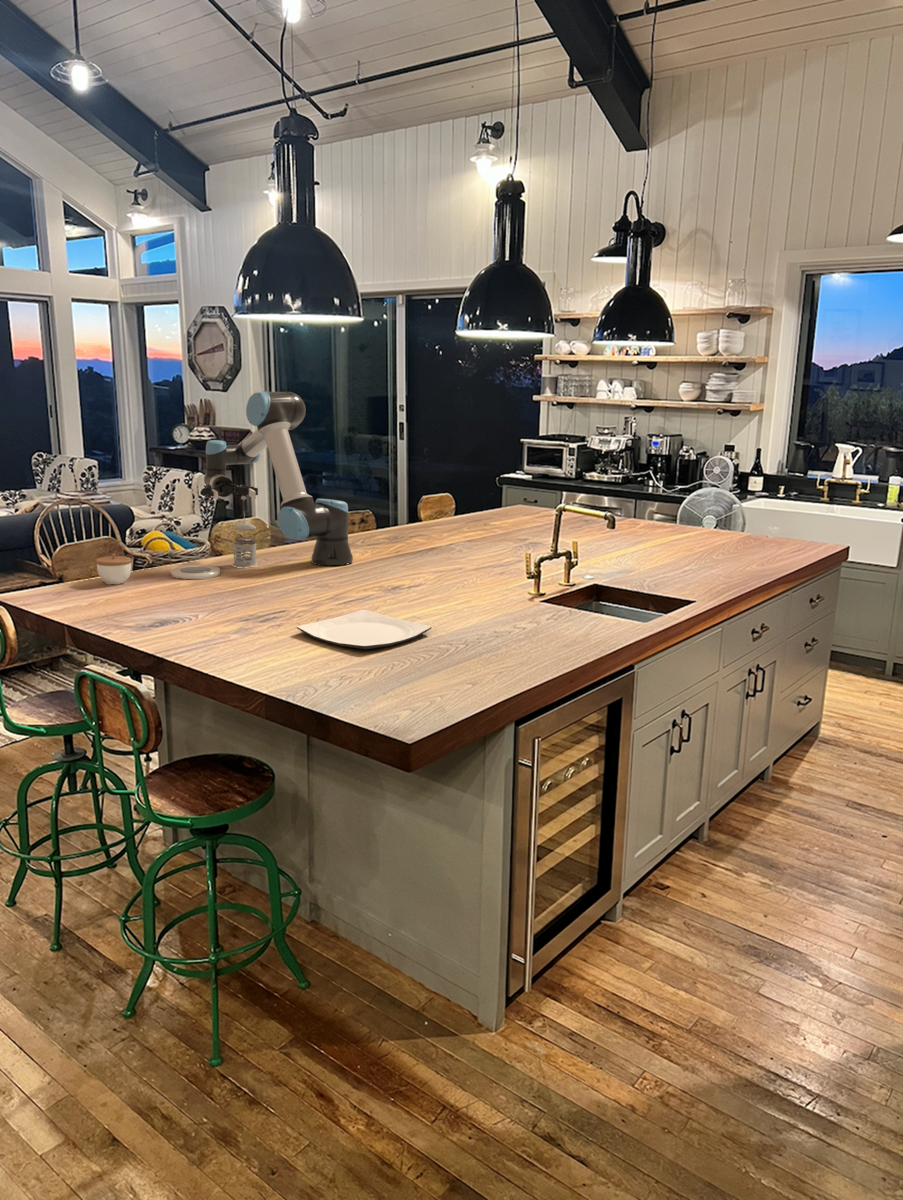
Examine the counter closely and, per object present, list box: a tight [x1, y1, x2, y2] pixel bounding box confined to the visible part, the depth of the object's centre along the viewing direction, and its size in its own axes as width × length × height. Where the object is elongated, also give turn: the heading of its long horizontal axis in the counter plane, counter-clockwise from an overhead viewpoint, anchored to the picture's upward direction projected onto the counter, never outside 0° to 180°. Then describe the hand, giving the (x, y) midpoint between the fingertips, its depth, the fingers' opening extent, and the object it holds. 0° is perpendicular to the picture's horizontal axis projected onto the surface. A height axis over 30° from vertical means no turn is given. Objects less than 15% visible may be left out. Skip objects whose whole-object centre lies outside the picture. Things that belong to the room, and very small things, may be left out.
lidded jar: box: [95, 553, 133, 585], centre depth 296 cm, size 11×11×9 cm
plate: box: [296, 609, 432, 650], centre depth 247 cm, size 29×29×3 cm
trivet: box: [170, 564, 221, 580], centre depth 311 cm, size 16×16×2 cm
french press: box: [225, 495, 259, 567], centre depth 325 cm, size 10×12×25 cm
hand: (235, 495), depth 330 cm, fingers open, 13 cm apart
